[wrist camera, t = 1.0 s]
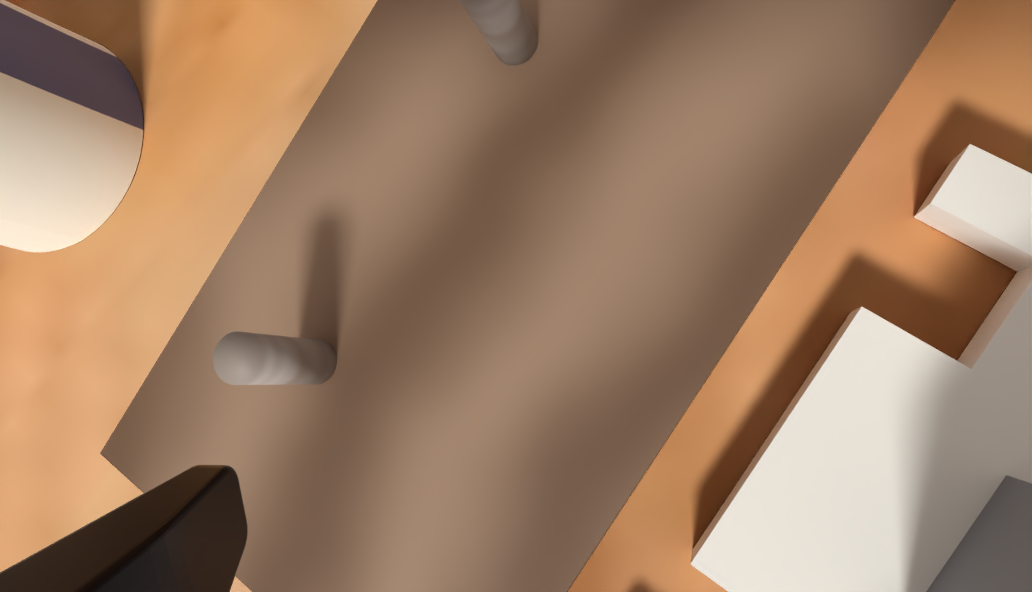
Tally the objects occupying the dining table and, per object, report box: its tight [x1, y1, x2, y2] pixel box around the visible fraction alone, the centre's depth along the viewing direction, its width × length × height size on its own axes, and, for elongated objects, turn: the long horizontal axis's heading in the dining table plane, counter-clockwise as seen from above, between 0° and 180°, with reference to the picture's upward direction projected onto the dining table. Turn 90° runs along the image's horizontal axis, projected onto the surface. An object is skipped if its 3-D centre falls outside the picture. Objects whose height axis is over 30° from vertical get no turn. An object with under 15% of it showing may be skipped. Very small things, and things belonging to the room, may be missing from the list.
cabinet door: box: [690, 144, 1032, 592], centre depth 14 cm, size 9×16×6 cm, turn 146°
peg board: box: [100, 0, 955, 592], centre depth 18 cm, size 13×22×6 cm, turn 146°
